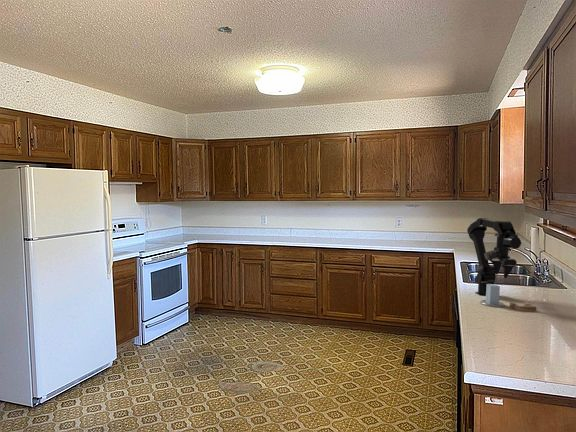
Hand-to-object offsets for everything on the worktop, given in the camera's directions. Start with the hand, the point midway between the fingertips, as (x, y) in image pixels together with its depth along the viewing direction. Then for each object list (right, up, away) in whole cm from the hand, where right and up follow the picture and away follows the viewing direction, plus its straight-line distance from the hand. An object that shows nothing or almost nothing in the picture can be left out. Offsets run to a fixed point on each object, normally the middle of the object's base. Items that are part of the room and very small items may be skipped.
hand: (500, 276), depth 228 cm
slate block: (-7, -13, -5) cm, 15 cm away
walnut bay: (+5, -14, -12) cm, 19 cm away
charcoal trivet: (-7, -13, -5) cm, 16 cm away
